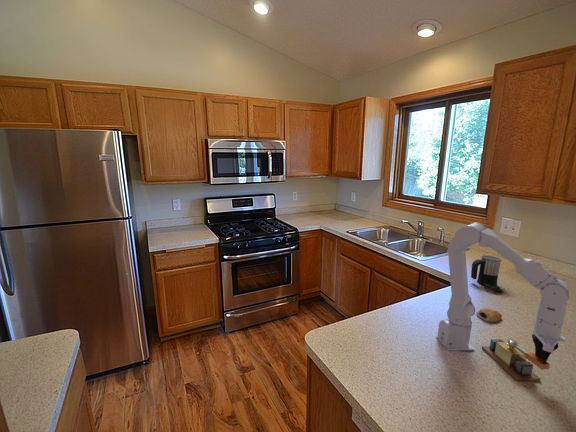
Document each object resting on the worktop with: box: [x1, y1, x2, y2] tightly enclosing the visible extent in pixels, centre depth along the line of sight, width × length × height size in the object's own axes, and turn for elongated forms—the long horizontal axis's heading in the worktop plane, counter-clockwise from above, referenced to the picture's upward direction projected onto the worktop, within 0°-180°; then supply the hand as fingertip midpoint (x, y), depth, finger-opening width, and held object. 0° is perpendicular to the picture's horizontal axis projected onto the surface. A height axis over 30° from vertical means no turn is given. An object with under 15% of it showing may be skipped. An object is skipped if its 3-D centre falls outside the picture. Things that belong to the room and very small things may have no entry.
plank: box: [481, 345, 541, 382], centre depth 91 cm, size 7×15×1 cm, turn 2°
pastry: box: [475, 308, 503, 323], centre depth 118 cm, size 9×7×4 cm
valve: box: [489, 338, 534, 375], centre depth 90 cm, size 5×13×5 cm, turn 2°
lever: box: [506, 338, 551, 371], centre depth 85 cm, size 12×3×2 cm, turn 7°
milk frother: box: [470, 255, 503, 293], centre depth 148 cm, size 14×16×15 cm
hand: (540, 360), depth 83 cm, fingers closed, pressing on lever
